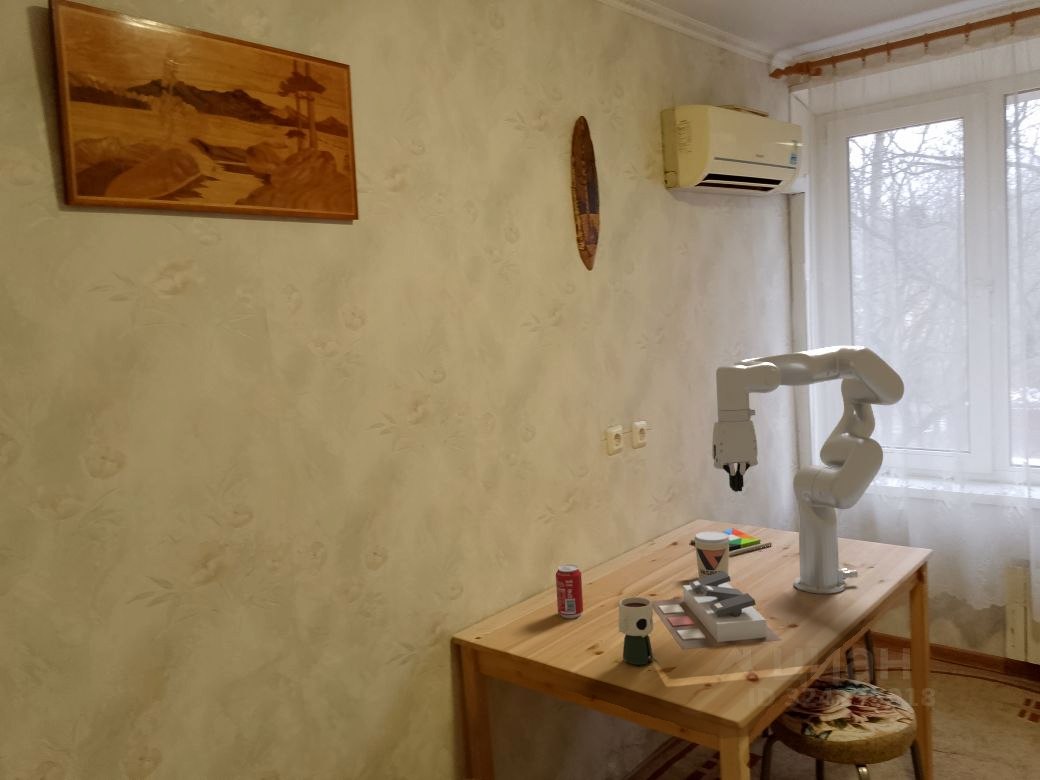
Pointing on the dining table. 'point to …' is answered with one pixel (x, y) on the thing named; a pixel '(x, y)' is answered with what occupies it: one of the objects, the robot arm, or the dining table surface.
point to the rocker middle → (720, 592)
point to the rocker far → (710, 581)
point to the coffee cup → (712, 552)
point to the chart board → (694, 626)
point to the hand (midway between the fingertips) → (736, 490)
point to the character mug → (636, 628)
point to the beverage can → (569, 591)
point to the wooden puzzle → (741, 542)
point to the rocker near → (733, 605)
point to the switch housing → (725, 618)
